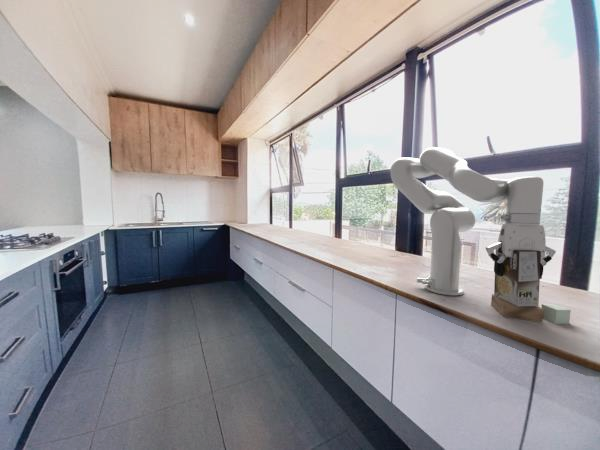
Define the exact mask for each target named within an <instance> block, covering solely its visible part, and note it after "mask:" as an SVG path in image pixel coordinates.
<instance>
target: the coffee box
mask: <svg viewBox="0 0 600 450" xmlns="http://www.w3.org/2000/svg"><path fill="white" fill-rule="evenodd" d="M500 251H502V249H501V248H500ZM502 253H503V252H502ZM497 254H498V252H497V249H495V255H497ZM502 263H503V264H504V274H503V276H498V275H496V274H495V273H494V287H493V288H494V290H493V292H494V293H493V295H494V296H496V297H498V298H500V299H503V300H505V301H507V302H509V303H511V304H514V305H516V306H539V307H540V305H539V302H540V301H539V300H540V299H539V298H540V285H541V284H540V281H541V279H540V263H541V251H534V250H513V258H509V257H507V258H506V259H505V260H504V261H503V262H502Z"/></svg>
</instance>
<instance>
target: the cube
mask: <svg viewBox="0 0 600 450" xmlns="http://www.w3.org/2000/svg"><path fill="white" fill-rule="evenodd" d="M540 308H542V309H543V310H544V311H543V320H544V319H545V320H546V321H548V322H550V323H553V324H556V325H558V324H562V325H563V324H567V325H568V324H570V321H571V320H570V319H571V313H572V312H571V311H572V310H571V309H570V308H568V307H567V308H566V307H565V306H564V307H563V306H561V305H559V304H555V303H541V306H540Z"/></svg>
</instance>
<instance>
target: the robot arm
mask: <svg viewBox="0 0 600 450" xmlns="http://www.w3.org/2000/svg"><path fill="white" fill-rule="evenodd" d="M468 164H469V163H468V161H466V160H465V159H463V158H461V157H458V156H456V154H455V153H454V152H453V151H452V150H450V149H447V148H443V147H438V146H437V147H436V146H432V147H431V146H430V147H428V148H426V149H424V150H423V151H422V152H421V154H420V156H419V158H415V157H406V156H405V157H399V158H398V159H395V160H394V161H393V162H392V164H391V167H390V178H391V182H392V184H393V185H394V186H395V188H396V189H397V190H398V191H400V193H401V194H402V195H404V196H405V198H407V199H408V201H410V202H411V204H413V205H414V207H415V208H416V209H418V210H419V212H421V213H423V214H426V215H431V217H430V220H429V224H430V225H429V226H430V231H431V254H430V273H429V275H427V277H424V278H423V277H416V283H418V284H422V285H424V288H425V289H426V290H427V291H429V292H432V293H435V294H439V295H444V296H454V297H455V296H457V297H458V296H462V295H463V294H464V290H463V288H461V287H460V286H459V285H460V267H461V254H462V251H461V250H462V243H461V241H462V240H461V237H460V233H464V232H468V231H470V230H472V229H473V228H474V226H475V223H476V217H475V214H474V213H473V212H472V211H471V209H469V208H468V207H467V206H466V205H465V204H463V203H462V202H461V201H460V200H459V199H457V198H456V197H455V196H454V195H452V194H451V193H449V192H446V191H440V190H433V189H431V188H429V187H428V186H427V185H426V184H425V183H423V182H422V181H421V180H420V179H423V178H427V177H431V176H434V175H437V176H439V177H441V178H442V179H444V180H445V181H447V182H448V183H449V184H450V185H451V186H452V187H453V189H455V190H456V191H458V192H459V193H461V194H463V195H464V196H466V197H468V198H470V199H472V200H473V201H476V202H480V203H492V204H493V203H495V204H497V203H499V204H500V203H506V210H505V211H506V212H505V213H504V215H501V216H500V220H502V221H504V222H505V223H502V224H501V225H502V226H501V228H500V231H499V235H498V240H497V242H495V243H493V244H491V245H488V246H486V247H485V251H486V253H487V254H488V257H489V258H490V259H491V260H492V261H493V262H494V263H493V272H494V275H495V274H496V275H498V276H503V274H504V264H503V263H502V262H503V261H504V260H505V259H506V258H507V257H509V258H513V250H534V251H541V263H540V280H542V277H543V274H544V267H545V266H547V263H549V262H550V261H551V260H552V259H553V257H554V256H555V254H556V253H557V252H556V250H555V249H553V248H551V247H549V246H547V244H546V231H545V226H544V225H543V224H540V223H541V214H542V205H543V204H542V203H543V192H544V179H543V178H542V177H539V176H520V177H515V178H511V179H501V178H493V177H487V176H485V175H483V174H481V173H479V172H477V171H475V170H473V169H471V168H470V167H469V166H468ZM500 248H501V249H502V251H500ZM496 249H497V252H498V254H497V255H496V253H495V251H496ZM502 252H503V253H502Z"/></svg>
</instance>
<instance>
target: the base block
mask: <svg viewBox="0 0 600 450" xmlns="http://www.w3.org/2000/svg"><path fill="white" fill-rule="evenodd" d="M490 300H491V303H490V305H491V307H492V308H493V309H495V311H496V312H498V314H499V315H501V316H502V317H503V318H509V319H510V318H511V319H517V320H518V319H519V320H525V321H531V322H539V323H543V321H544V318H543V311H544V310H543V309H542V308H541V306H540V305H539V306H516V305H514V304H511V303H509V302H507V301H505V300H503V299H500V298H498V297H496V296H494V293H493V294H491V299H490Z"/></svg>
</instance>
